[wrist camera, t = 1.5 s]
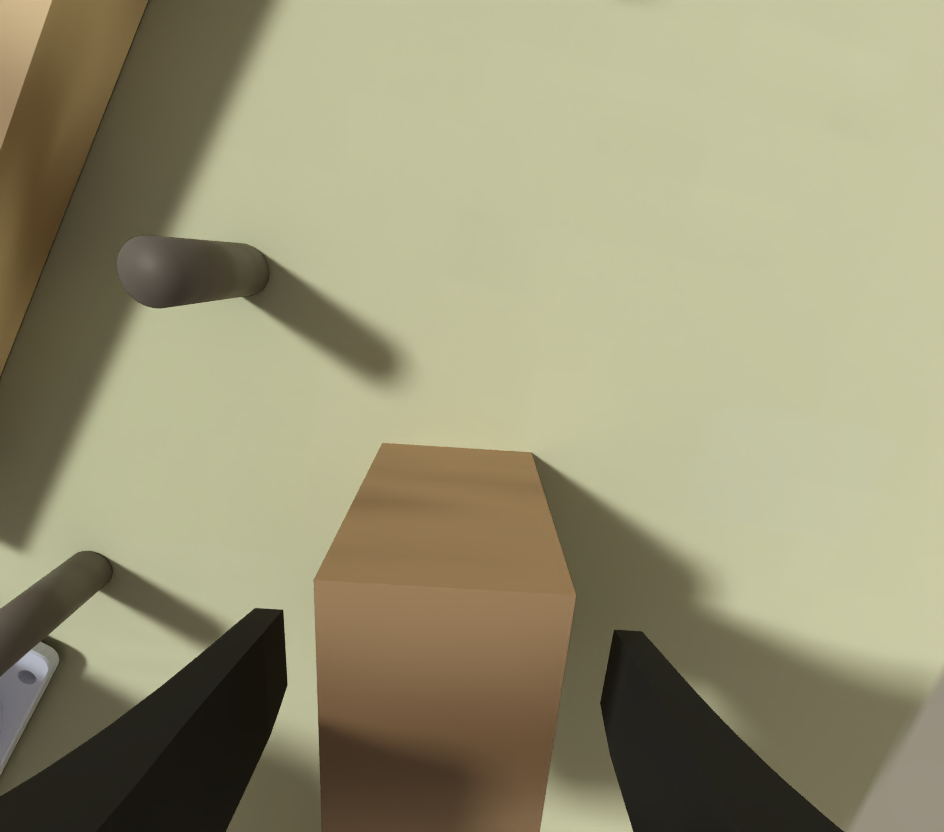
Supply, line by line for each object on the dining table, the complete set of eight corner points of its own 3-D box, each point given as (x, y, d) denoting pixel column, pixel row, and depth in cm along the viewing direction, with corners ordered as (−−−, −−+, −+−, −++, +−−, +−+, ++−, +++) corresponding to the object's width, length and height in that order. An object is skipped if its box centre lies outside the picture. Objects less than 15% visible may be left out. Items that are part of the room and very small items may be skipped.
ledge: (103, 593, 14) (-8, 692, 11) (-129, 479, 13) (-330, 551, 10) (522, -201, 9) (550, -466, 6) (198, -496, 8) (5, -1028, 5)
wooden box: (509, 660, 15) (531, 897, 10) (379, 653, 15) (323, 888, 9) (532, 451, 13) (579, 595, 8) (382, 442, 13) (313, 579, 7)
